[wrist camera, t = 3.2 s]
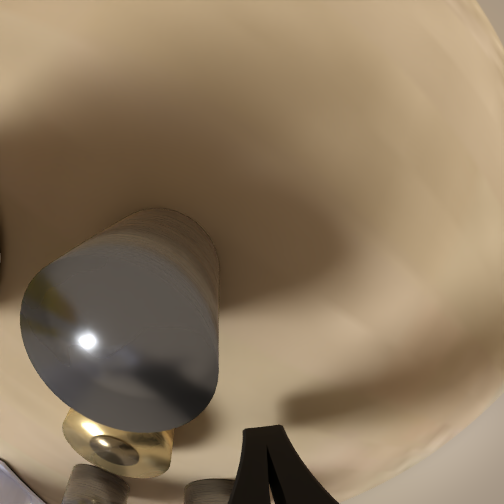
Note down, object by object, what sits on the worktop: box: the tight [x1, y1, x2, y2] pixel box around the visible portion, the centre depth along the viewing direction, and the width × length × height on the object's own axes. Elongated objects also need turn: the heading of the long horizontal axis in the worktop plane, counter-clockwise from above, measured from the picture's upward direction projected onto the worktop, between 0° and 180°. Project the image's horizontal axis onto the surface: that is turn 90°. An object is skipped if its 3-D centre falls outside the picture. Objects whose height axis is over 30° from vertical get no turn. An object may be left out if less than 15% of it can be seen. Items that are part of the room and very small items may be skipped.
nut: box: [63, 408, 175, 478], centre depth 9 cm, size 4×4×2 cm
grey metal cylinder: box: [20, 208, 219, 433], centre depth 6 cm, size 4×4×4 cm
